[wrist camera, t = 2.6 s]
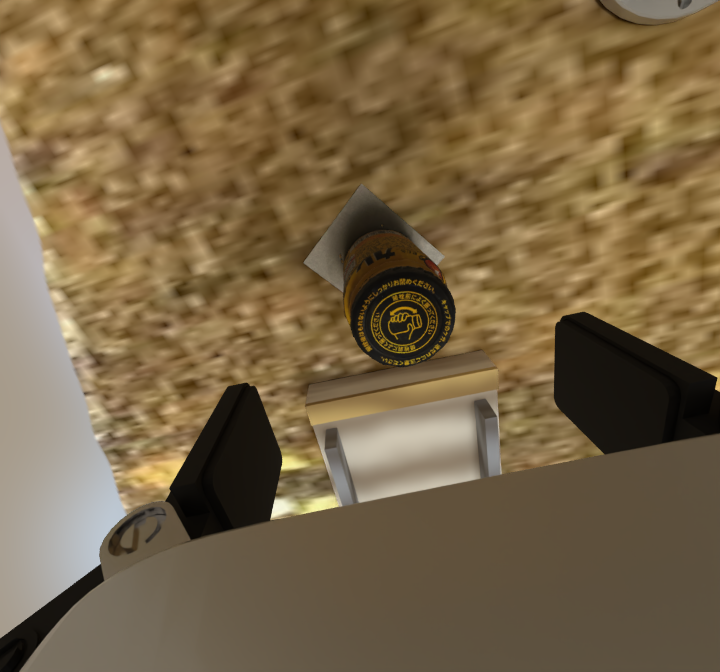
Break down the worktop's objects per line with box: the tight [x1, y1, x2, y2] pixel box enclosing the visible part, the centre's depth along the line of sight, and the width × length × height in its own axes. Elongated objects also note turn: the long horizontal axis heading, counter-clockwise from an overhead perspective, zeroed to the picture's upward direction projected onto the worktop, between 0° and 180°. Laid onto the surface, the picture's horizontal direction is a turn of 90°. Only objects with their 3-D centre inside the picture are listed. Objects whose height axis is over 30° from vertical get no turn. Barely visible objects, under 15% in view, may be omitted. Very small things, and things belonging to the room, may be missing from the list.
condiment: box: [303, 184, 456, 367], centre depth 22 cm, size 7×8×12 cm
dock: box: [305, 350, 501, 507], centre depth 32 cm, size 18×16×7 cm
